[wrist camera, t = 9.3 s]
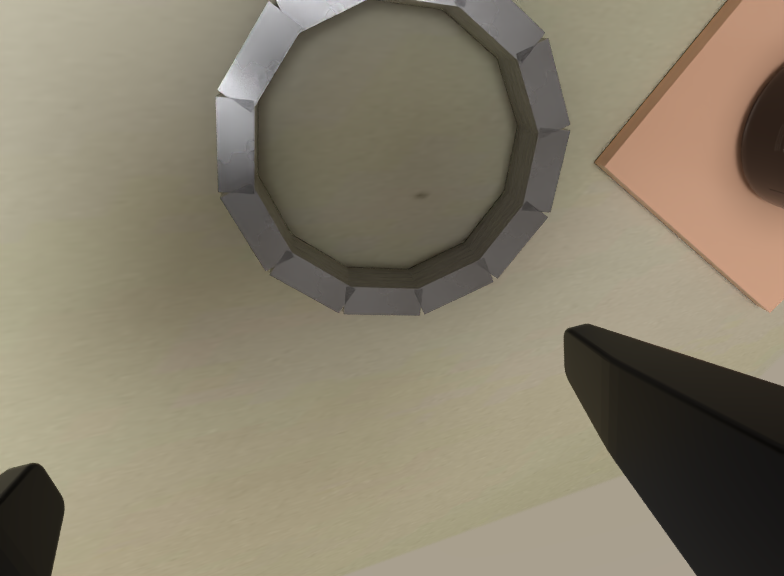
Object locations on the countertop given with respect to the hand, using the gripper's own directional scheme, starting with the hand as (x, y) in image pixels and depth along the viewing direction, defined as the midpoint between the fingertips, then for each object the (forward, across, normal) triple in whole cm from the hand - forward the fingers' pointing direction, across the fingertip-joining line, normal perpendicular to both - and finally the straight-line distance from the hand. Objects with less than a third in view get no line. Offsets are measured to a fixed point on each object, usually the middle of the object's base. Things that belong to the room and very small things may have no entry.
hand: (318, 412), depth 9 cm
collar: (+13, -4, -1) cm, 14 cm away
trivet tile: (+13, -21, +1) cm, 25 cm away
